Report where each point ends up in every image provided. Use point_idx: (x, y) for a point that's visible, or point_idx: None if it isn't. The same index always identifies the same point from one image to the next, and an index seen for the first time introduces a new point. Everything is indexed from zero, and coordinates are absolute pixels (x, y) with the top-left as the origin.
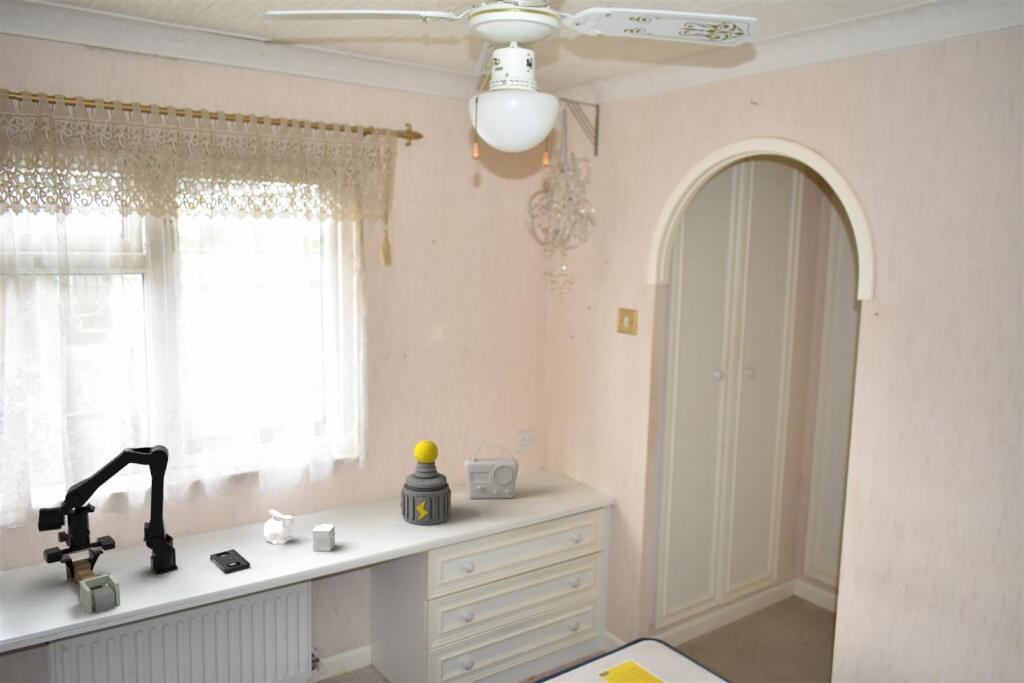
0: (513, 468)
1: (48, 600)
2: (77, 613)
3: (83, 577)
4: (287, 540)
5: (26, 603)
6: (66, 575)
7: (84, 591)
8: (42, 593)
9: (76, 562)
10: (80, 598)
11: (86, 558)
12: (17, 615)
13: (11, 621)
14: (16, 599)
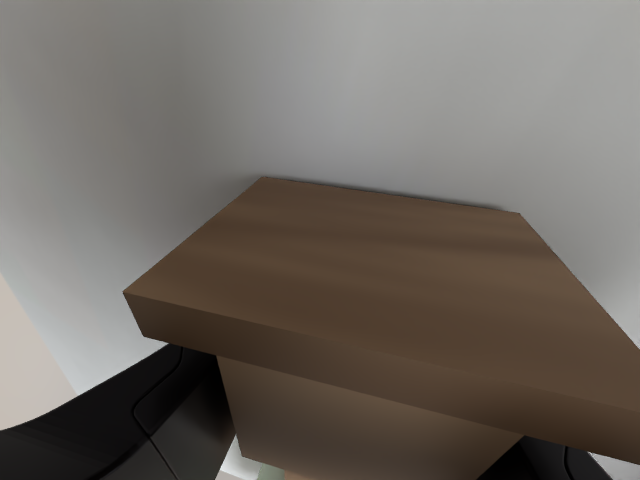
0: None
1: (160, 347)
2: (249, 460)
3: (297, 475)
4: None
5: (72, 306)
6: (245, 192)
7: None
8: (119, 265)
9: (296, 396)
10: (263, 464)
11: (563, 401)
12: (74, 359)
13: (70, 375)
14: (3, 234)
